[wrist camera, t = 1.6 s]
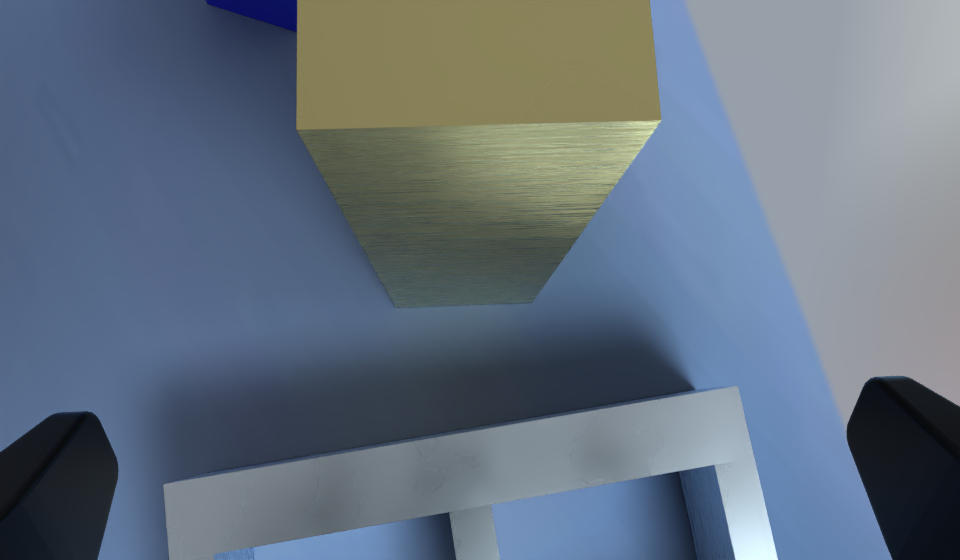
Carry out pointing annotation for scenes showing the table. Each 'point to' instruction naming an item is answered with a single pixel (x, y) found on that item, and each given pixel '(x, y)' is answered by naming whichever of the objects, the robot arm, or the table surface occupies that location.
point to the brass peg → (473, 132)
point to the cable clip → (263, 10)
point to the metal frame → (489, 480)
